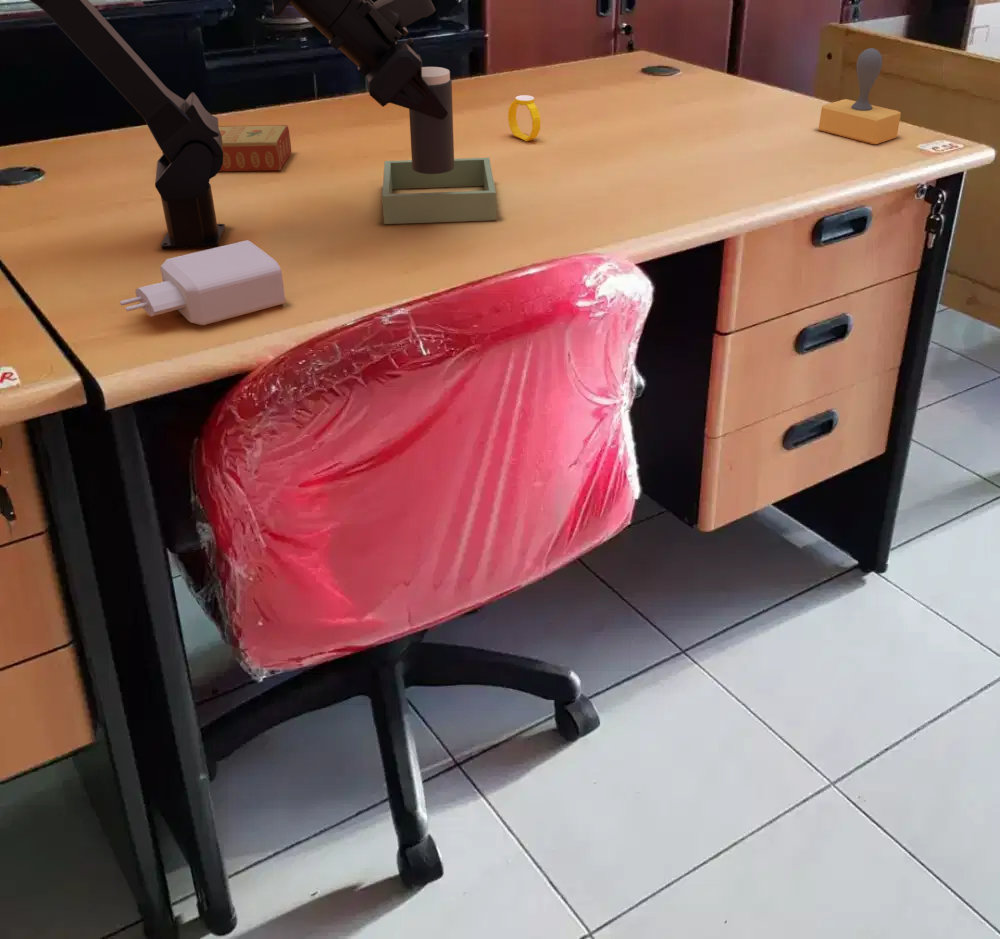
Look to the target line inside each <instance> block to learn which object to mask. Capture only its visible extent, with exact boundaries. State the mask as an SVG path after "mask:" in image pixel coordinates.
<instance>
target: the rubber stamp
mask: <svg viewBox="0 0 1000 939" xmlns="http://www.w3.org/2000/svg"><path fill="white" fill-rule="evenodd" d="M882 66H883V56H882V54H881V52H880V51H879V50H878V49H877V48H872V47H870V48H866V49H865V50H863V51H862V52H861V53H860V54H859V55H858V57H857V60H856V68H855V69H856V75H857V76H856V77H857V82H858V86H859V96H858V98H857V100H852V99H848V98H844V99H841V100H837V101H834V102H830V103H827V104H823V105H821V109H820V115H819V116H820V117H819V123H818V129H817V130H818V131H820V132H824V133H828V134H831V135H836V136H840V137H844V138H847V139H852V140H854V141H855V140H856V141H859V142H862V143H866V144H871V145H878V144H881V143H884V142H886V141H889V140H893V139H896V138H897V137H898V132H899V127H900V121H901V115H902V112H900V111H899V110H896V109H890V108H886V107H882V106H878V105H873V104H871V102H870V101H869V95H870V92H871V89H872V88H873V86H874V83H875V82H876V80H877V78H878V77H879V76H880V75H879V74H880V72H881V71H882V68H883V67H882Z"/></svg>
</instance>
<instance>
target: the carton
mask: <svg viewBox="0 0 1000 939" xmlns="http://www.w3.org/2000/svg"><path fill="white" fill-rule="evenodd" d="M218 128H219V131H220V133H221V136H222V143H223V164H222V167H221V169H220V171H219V172H235V171H236V172H238V171H244V172H245V171H246V172H248V171H249V172H250V171H281V170H282V168H283V166H284V165H285V163H286V161H287V160H288V158H289V157H290V156H291V153H292V141H291V135H290V129H289V126H288V124H255V125H252V124H251V125H218ZM161 152H162V151H161ZM163 154H164V153H163V152H162V155H163Z"/></svg>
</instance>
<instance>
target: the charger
mask: <svg viewBox="0 0 1000 939" xmlns="http://www.w3.org/2000/svg"><path fill="white" fill-rule="evenodd" d="M159 268H160V274H161V278H162V279H161V280H162V281H161V282H157V283H153V284H148V285H144V286H141V287H137V288H136V289H135V291H134V293H135V295H136V297H132V298H127V299H124V300H120V301H119V305H120V306H125V311H126V312H131V311H135V310H138V309H139V310H140V309H143V310H144V311H145V312H146V313H147V314H148V316H150V317H155V316H158V315H163V314H166V313H170V312H175V311H178V312H179V313H180V314H181V315H182V316H183V317H184V318H185V320H187V321H188V322H189V323H192V324H195V325H199V326H207V325H210V324H214V323H217V322H221V321H225V320H229V319H232V318H236V317H239V316H244V315H248V314H250V313H255V312H259V311H262V310H266V309H269V308H273V307H277V306H280V305H283V304H285V303H286V293H285V286H284V279H283V273H282V269H281V266H280V265H279V263H278V262H277V261H276V259H275V258H273V257H271V255H269V254H268V253H266V252H265V251H264V250H263V249H261V248H260V247H258V246H257V245H256V244H254V243H253V242H252V241H250V240H248V239H247V240H242V241H238V242H233V243H229V244H225V245H221V246H220V245H219V246H217V247H211V248H208V249H203V250H199V251H195V252H190V253H187V254H183V255H179V256H174V257H170V258H166V259H165V260H164V262H163V263H162V264H161V265H160V267H159ZM137 302H139V303H138V304H134V303H137ZM130 304H133V305H130ZM126 305H129V306H126Z"/></svg>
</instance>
